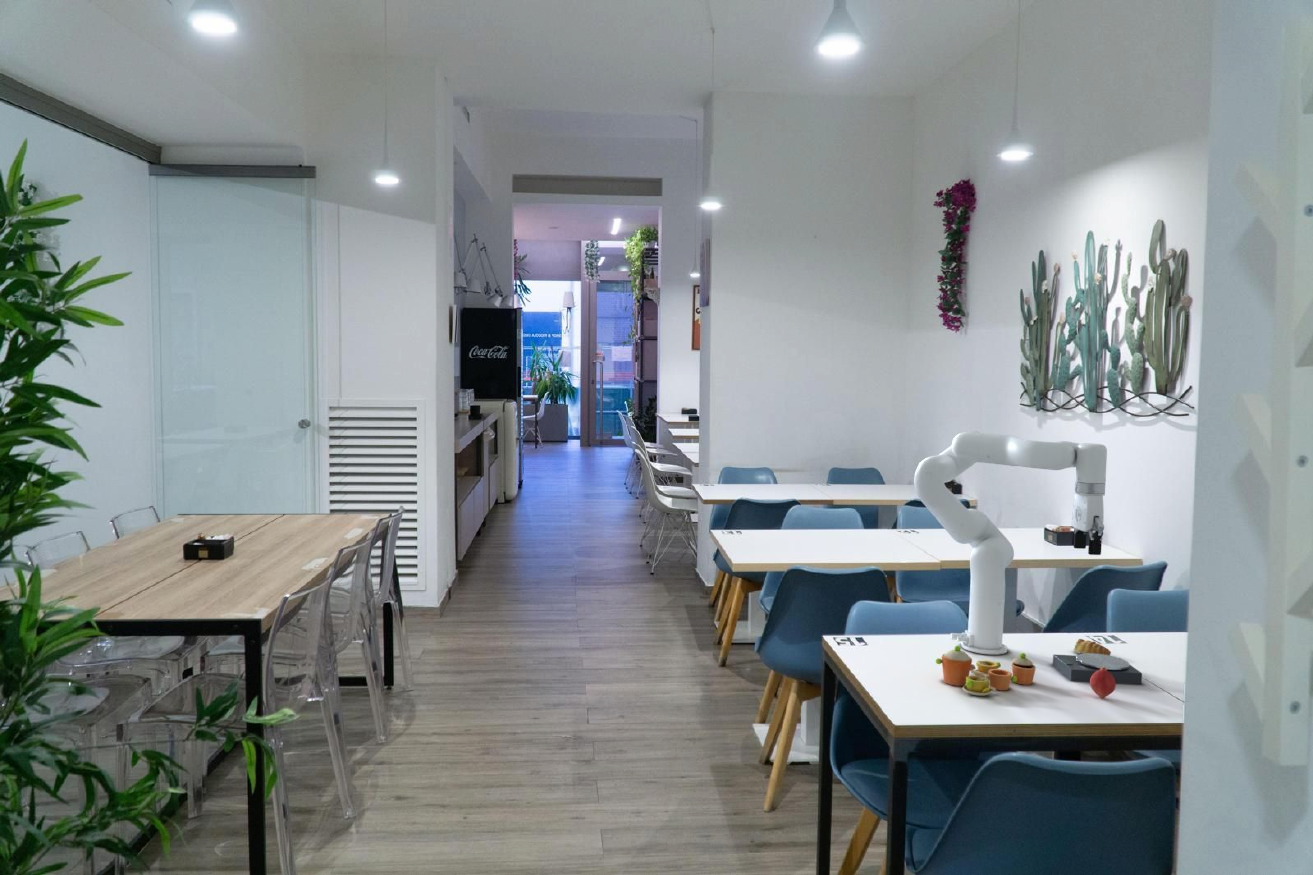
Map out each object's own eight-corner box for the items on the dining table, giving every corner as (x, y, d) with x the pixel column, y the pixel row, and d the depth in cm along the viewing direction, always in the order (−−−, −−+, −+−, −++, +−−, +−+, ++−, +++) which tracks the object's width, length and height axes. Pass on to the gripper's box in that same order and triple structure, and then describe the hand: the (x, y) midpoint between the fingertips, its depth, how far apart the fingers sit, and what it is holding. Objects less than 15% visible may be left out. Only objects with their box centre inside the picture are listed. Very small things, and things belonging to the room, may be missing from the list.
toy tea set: (977, 700, 240) (979, 661, 239) (928, 682, 253) (930, 644, 252) (1045, 685, 254) (1048, 648, 253) (996, 668, 267) (998, 633, 266)
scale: (1070, 680, 258) (1071, 668, 258) (1052, 665, 272) (1053, 653, 272) (1141, 684, 257) (1142, 672, 257) (1119, 668, 271) (1120, 657, 271)
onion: (1084, 694, 248) (1086, 662, 247) (1106, 694, 248) (1108, 662, 248) (1096, 701, 242) (1098, 669, 241) (1119, 702, 242) (1121, 669, 242)
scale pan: (1086, 668, 258) (1086, 666, 258) (1068, 654, 271) (1068, 652, 271) (1137, 671, 257) (1137, 668, 257) (1117, 656, 270) (1117, 654, 270)
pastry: (1114, 656, 283) (1115, 643, 282) (1104, 661, 278) (1105, 647, 278) (1081, 649, 289) (1081, 636, 289) (1071, 653, 284) (1072, 640, 284)
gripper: (1063, 485, 278) (1060, 545, 279) (1089, 492, 260) (1086, 556, 261) (1090, 485, 278) (1087, 546, 279) (1118, 493, 260) (1114, 557, 261)
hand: (1086, 551), depth 270 cm, fingers open, 9 cm apart
